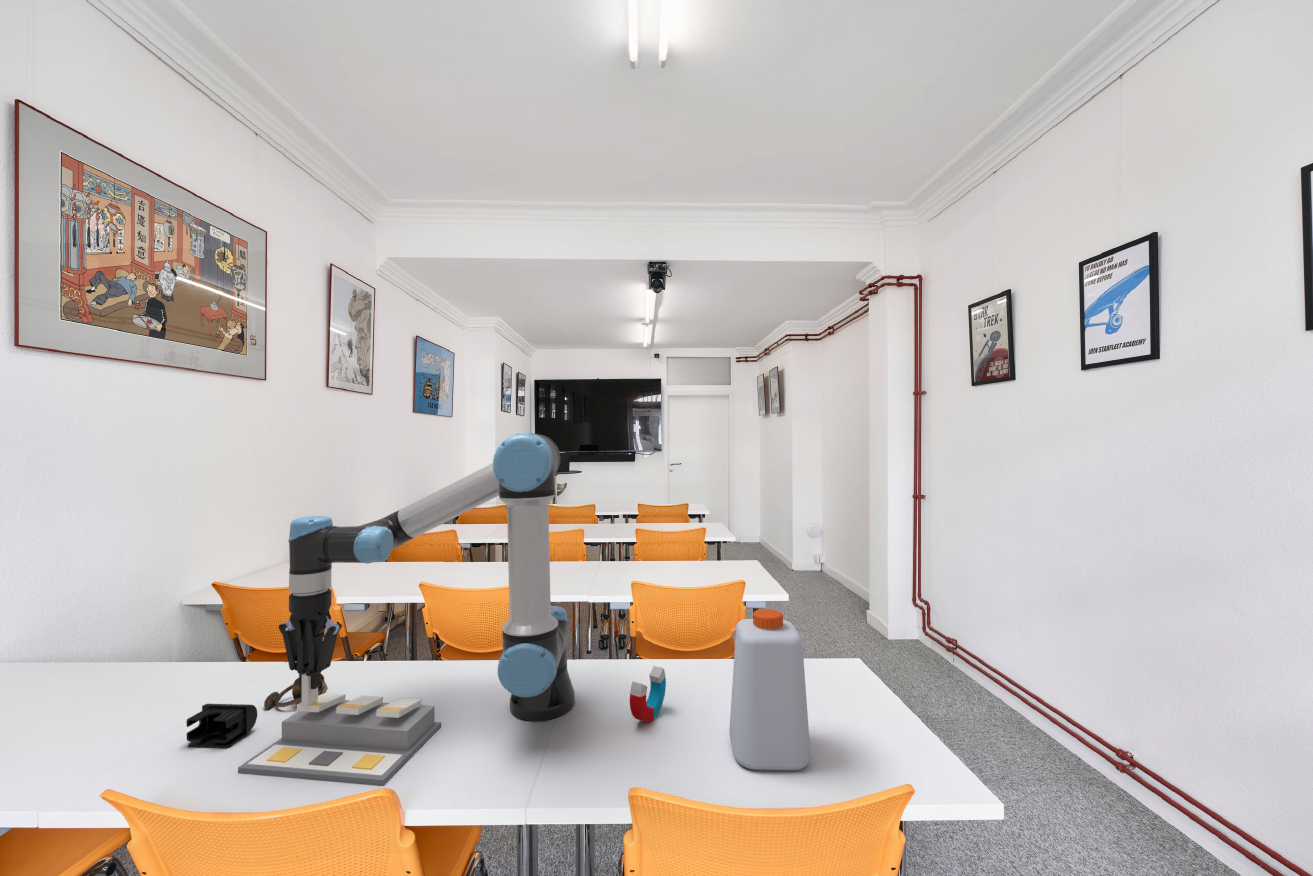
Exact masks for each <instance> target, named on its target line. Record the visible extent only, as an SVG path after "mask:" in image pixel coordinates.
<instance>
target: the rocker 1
mask: <svg viewBox="0 0 1313 876" xmlns="http://www.w3.org/2000/svg"><path fill="white" fill-rule="evenodd" d="M346 696H347V695H346V693H335V692H334V693H332V692H331V693H330V692H326V693H324V694H321V695H319V696H318V701H316V702H315V703H313V704H311V705H310V706H308V707H304V706H302V702H301V703H298V704H297V703H296V712H298V711H308V712H320V711H322V710H324V709H326V708H329V707H331V706H333V705H335V704H337V703H340V702H342V701H344V700H346Z"/></svg>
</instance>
